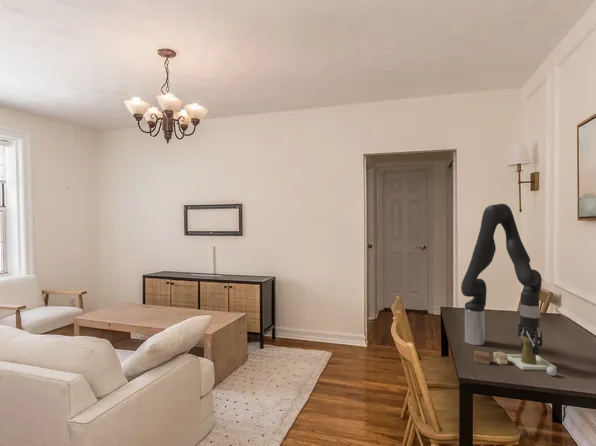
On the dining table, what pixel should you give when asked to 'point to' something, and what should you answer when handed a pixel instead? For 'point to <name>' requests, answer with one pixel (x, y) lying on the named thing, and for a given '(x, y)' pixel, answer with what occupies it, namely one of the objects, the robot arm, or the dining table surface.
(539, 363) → the tray
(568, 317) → the dining table surface
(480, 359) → the walnut block
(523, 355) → the cork
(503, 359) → the maple block
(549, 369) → the grey ball
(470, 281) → the robot arm
